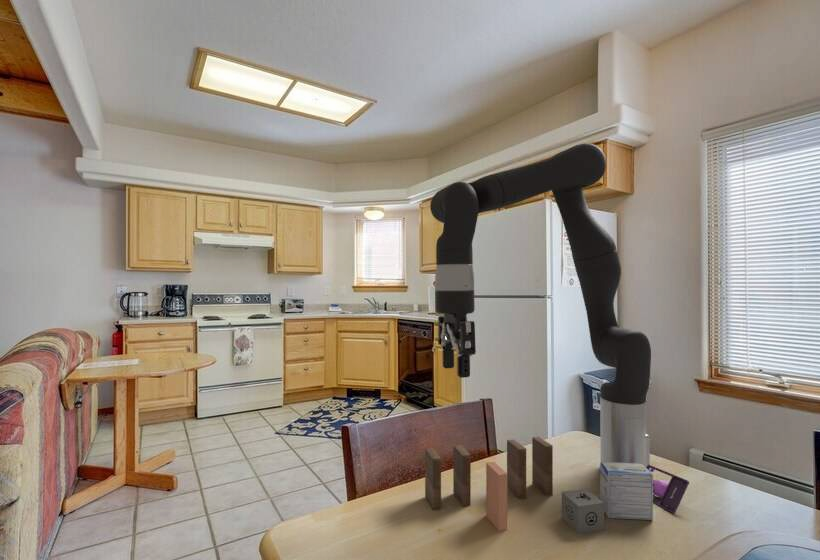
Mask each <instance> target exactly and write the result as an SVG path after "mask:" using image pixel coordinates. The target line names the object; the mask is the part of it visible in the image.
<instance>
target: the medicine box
mask: <svg viewBox="0 0 820 560" xmlns="http://www.w3.org/2000/svg"><path fill="white" fill-rule="evenodd" d="M599 469H600V471H599V480H600V482H599V483H600V484H599V485H600V491H599V494H600V496H599V497H600V498H599V499H600V500H601V501H602V502H604V514H605V515H606V516H607V518H608V519H623V520H624V519H626V520H642V521H643V520H644V521H645V520H646V521H653V520H654V506H653V505H654V503H653V501H654V500H653V494H654V493H653V480H654V474H653V472H651V471H649V470H648V469H647V468H646V467H645V466H643V465H642V464H635V463H610V462H601V461H600V463H599Z"/></svg>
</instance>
